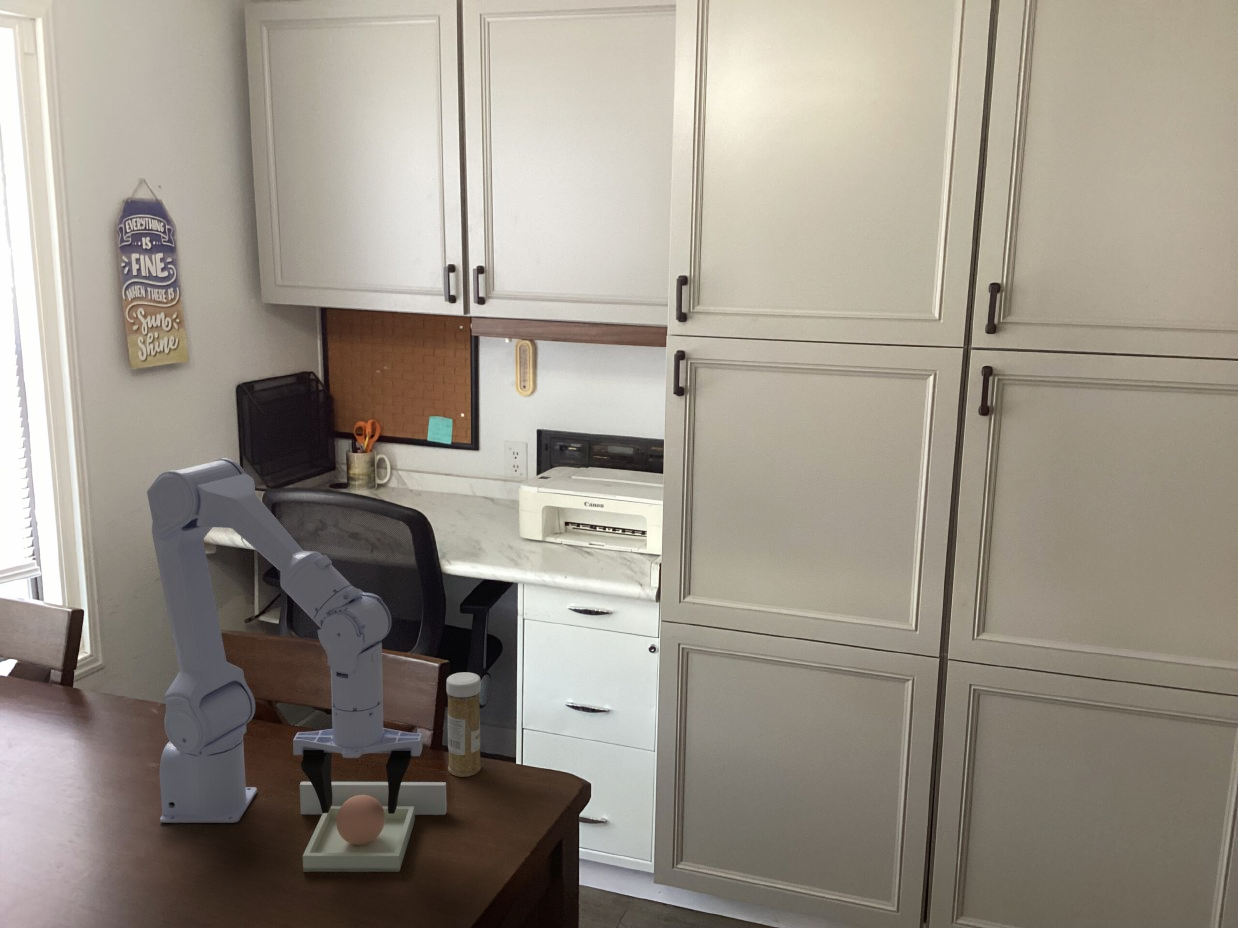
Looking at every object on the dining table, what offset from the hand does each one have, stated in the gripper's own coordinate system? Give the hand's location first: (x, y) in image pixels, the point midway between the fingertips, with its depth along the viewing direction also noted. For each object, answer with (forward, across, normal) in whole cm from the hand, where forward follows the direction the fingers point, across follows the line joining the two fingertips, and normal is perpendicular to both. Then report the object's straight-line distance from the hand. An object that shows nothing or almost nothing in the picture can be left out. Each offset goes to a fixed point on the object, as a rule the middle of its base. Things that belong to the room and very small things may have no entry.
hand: (360, 808), depth 121 cm
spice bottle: (+5, +10, +18) cm, 22 cm away
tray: (+5, 0, 0) cm, 5 cm away
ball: (+1, 0, 0) cm, 1 cm away
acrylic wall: (+5, 0, +7) cm, 9 cm away
